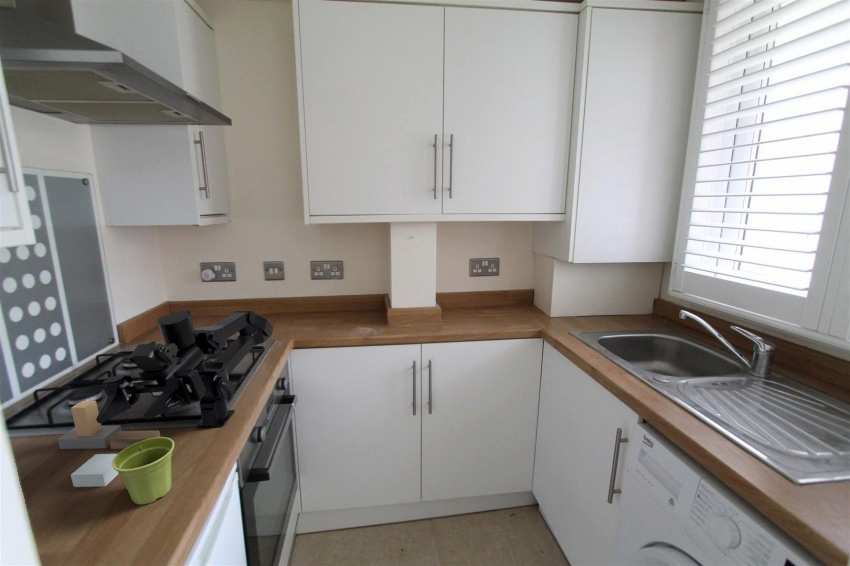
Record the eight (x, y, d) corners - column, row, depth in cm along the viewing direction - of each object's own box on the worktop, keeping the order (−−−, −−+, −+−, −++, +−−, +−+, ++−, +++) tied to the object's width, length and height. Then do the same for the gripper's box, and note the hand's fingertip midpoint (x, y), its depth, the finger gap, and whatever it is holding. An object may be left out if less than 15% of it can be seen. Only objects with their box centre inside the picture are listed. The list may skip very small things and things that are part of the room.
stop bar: (121, 440, 89) (119, 431, 88) (161, 440, 89) (159, 430, 88) (110, 449, 86) (108, 439, 85) (152, 448, 86) (150, 438, 85)
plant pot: (109, 516, 68) (99, 473, 66) (137, 478, 77) (129, 439, 75) (168, 508, 70) (160, 466, 68) (189, 472, 79) (182, 434, 77)
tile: (98, 466, 81) (95, 454, 80) (128, 466, 81) (125, 453, 80) (74, 488, 75) (70, 474, 74) (105, 487, 75) (102, 474, 74)
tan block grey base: (79, 435, 91) (70, 398, 89) (122, 434, 91) (114, 398, 89) (60, 449, 86) (50, 410, 84) (105, 448, 86) (97, 410, 84)
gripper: (121, 338, 81) (50, 386, 66) (204, 329, 79) (150, 377, 64) (143, 381, 85) (82, 436, 71) (223, 374, 83) (177, 429, 69)
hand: (121, 419), depth 69 cm, fingers open, 9 cm apart
